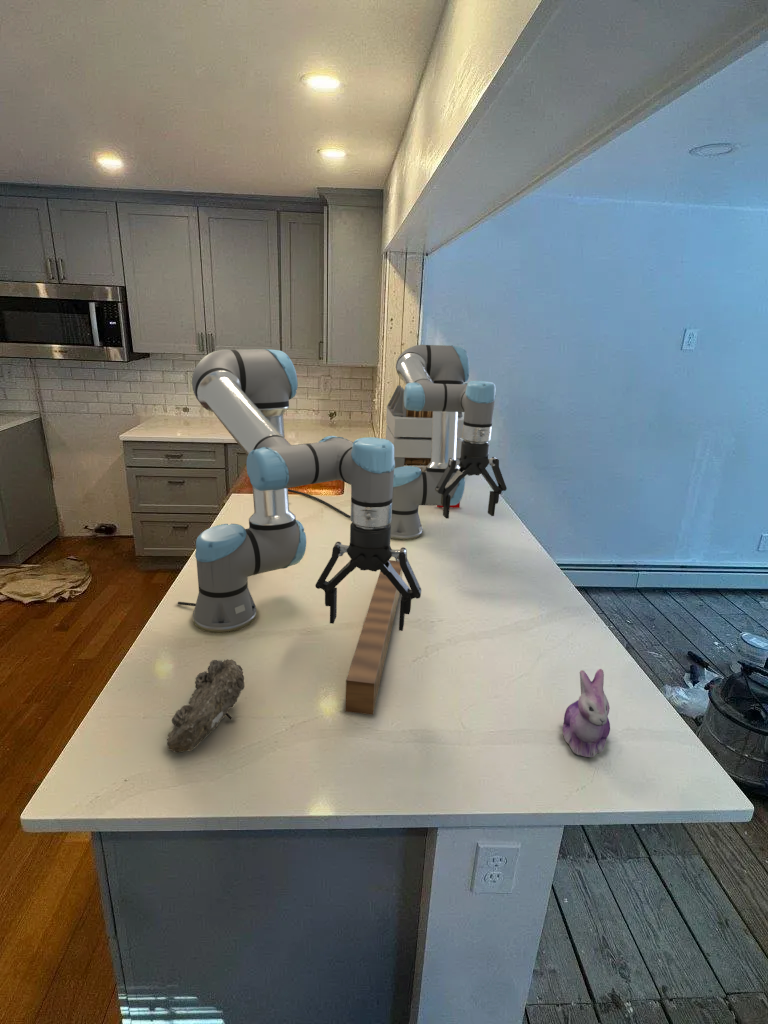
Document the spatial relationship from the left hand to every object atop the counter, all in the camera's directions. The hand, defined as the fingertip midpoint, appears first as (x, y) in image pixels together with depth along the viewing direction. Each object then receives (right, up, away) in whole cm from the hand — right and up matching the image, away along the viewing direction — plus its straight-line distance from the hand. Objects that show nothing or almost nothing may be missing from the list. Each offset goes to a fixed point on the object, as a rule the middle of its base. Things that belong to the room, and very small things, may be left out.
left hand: (367, 623), depth 112 cm
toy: (+29, +28, +129) cm, 136 cm away
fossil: (-29, -17, -3) cm, 34 cm away
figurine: (+41, -21, -5) cm, 46 cm away
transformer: (+21, +41, +163) cm, 170 cm away
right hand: (+27, +21, +47) cm, 58 cm away
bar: (+2, -8, +26) cm, 27 cm away
